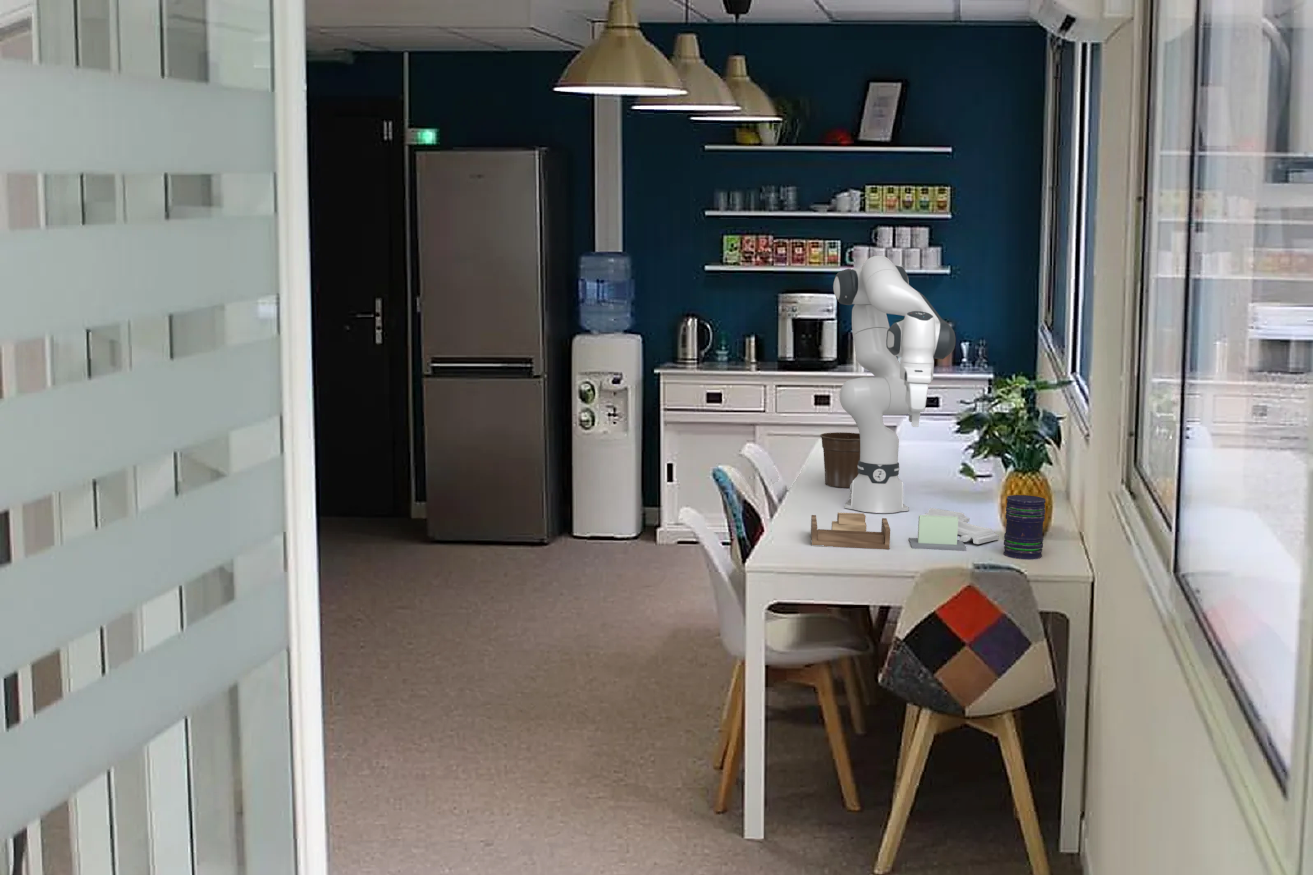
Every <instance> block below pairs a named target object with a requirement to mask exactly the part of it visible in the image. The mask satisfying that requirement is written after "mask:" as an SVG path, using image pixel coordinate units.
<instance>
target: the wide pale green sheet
mask: <svg viewBox="0 0 1313 875" xmlns="http://www.w3.org/2000/svg"><path fill="white" fill-rule="evenodd" d="M917 526H918V528H917V538H918V543H931V544H953V545H957V540H958V534H957V533H958V517H953V516H931V515H925V514H919V515H918V524H917Z"/></svg>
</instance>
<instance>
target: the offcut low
mask: <svg viewBox="0 0 1313 875" xmlns="http://www.w3.org/2000/svg"><path fill="white" fill-rule="evenodd" d="M867 527H868V526H867V522H866V521H865V525H849V524H838V522H837V520H831V530H846V531H867Z"/></svg>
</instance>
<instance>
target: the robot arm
mask: <svg viewBox="0 0 1313 875" xmlns="http://www.w3.org/2000/svg"><path fill="white" fill-rule="evenodd" d="M909 283H910V282H909V276H908V273H907V271H906V269H905V268H904V267H902V266H901V265H895V263H894V262H892V260H890V259H889V258H888V257H886V256H884V255H874V256H871V257H869V258H868V259H866V260H865V262H864V263H863V265H862V267H861V266H860V267H855V268H852V269H851V268H846V269H842V270H840V271H838V272H837V274H836V275H835V277H834V281H833V285H832V287H833V289H832V290H833V293H834V296H835V299H836V301H837V302H839V304H840V305H846V306H852V305H853V306H852V309H851V329H852V330H851V332H852V337H853V343H854V344H853V345H854V351H855V358H856V361H857V363H858V365H860V366H861V367H862V368H863V369H865V370H867V371H869V372H870V373H871V374H872V375H873V376H874V377H873V376H870V377H865V376H864V377H863V376H862V377H857V378H852V379H848V380H846V381H844V383H843V384H842V386H841V387H840V390H839V395H838V396H839V403H840V406H841V407H842V408H843V410H844V411H845V413H847V414H849V416H850V417H851V418H852V419H853V421H854V422H855V424H856V427H857V429H858V433H860V460H859V461H858V473H859V474H858V476H857V477H856V478H855V479H854V480H853V482H852V483H851V484H850V488H849V492H850V494H849V497H850V498H849V500H847V501H846V502H845V503H844V504H843V508H844V509H850V510H855V511H857V512H863V513H864V512H865V513H877V514H894V513H900V512H909V506H908V505H906V504H905V503H904V482H903V481H902V480H901V479H900V477H899V474H900V463H899V447H900V446H899V444H900V440H899V436H898V434H897V433H896V431H894V430H893V429H892V428H889V427H887V426H886V425H885V424H884V420H883V416H884V415H885V416H886V415H887V416H888V415H889V416H892V415H893V416H897V415H898V416H900V415H907V414H908V422H910V423H911V427H912V428H918V427H919V425H920V419H921V418H920V417H921V413H924V411H925V409H926V406H927V400H928V399H927V398H928V392H929V385H930V384H931V383H932V381H933V380H934V368H935V367H934V366H935V359H937V360H945V358H947V357H948V356H950V354H952V352H953V351H954V350H955V348H956V347H955V346H956V339H957V338H956V334H955V331H954V329H953V328H952V326H951V325H950V324H949V323H948V322H947V321H945V319H943V318H942V317H941V315H939V313H938V311H936V309H935V308H934V306H933V305H932V304H931V303H930V301H929V300H928V298H927V297H926V296H925V295H923V293H921V292H920V291H918V290H916V289H915V288H913V287H912V286H911V285H910V284H909ZM887 314H888V315H897V316H902V317H904V318H903V319H902V320H900V321H898V322H894V323H893V324H892V325H891V326H890V323H889V319H888V316H887ZM898 357H899V358H900V362H899V360H898Z"/></svg>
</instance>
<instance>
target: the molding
mask: <svg viewBox="0 0 1313 875" xmlns="http://www.w3.org/2000/svg"><path fill="white" fill-rule="evenodd" d="M924 515H931V516H953V517H958V533H957V536H958V535H959V536H960V537H959V540H960V541H963V543H967V542H971V541H972V542H973V544H975V545H980V544H985V543H989V542H992V541H996V540H997V541H998V540H999V537H1000V535H999V534H997V533H996V532H994V530H993V529H992V528H989V527H983V526H979V525H975V524H971V523H970V517H967V516H966V515H965V513H963V512H960V511H954V510H953V511H952V510H946V509H939V508H934V507H930V508H929V509H928V511H927V513H924ZM967 522H969V523H967Z"/></svg>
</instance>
